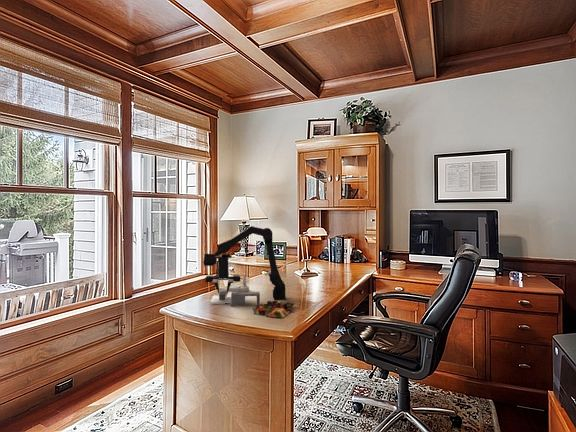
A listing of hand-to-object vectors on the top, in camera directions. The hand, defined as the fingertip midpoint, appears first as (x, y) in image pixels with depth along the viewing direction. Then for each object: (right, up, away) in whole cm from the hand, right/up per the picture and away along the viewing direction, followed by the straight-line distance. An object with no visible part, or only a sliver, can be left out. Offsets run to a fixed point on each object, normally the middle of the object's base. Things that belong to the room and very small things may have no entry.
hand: (223, 294), depth 191 cm
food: (+30, -4, -20) cm, 36 cm away
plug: (0, -1, -4) cm, 4 cm away
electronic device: (+4, -3, +21) cm, 22 cm away
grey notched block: (+13, -3, -10) cm, 17 cm away
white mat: (0, -3, -1) cm, 3 cm away
